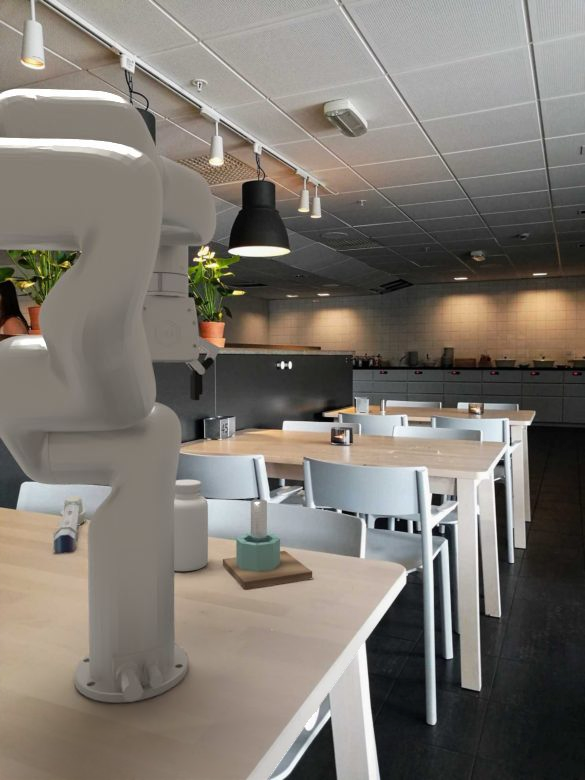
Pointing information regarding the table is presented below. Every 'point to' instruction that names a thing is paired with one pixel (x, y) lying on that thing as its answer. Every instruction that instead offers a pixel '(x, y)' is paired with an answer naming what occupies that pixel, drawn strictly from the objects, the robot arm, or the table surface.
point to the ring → (257, 553)
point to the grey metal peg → (258, 521)
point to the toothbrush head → (69, 525)
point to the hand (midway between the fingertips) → (164, 400)
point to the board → (269, 572)
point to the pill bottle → (190, 526)
